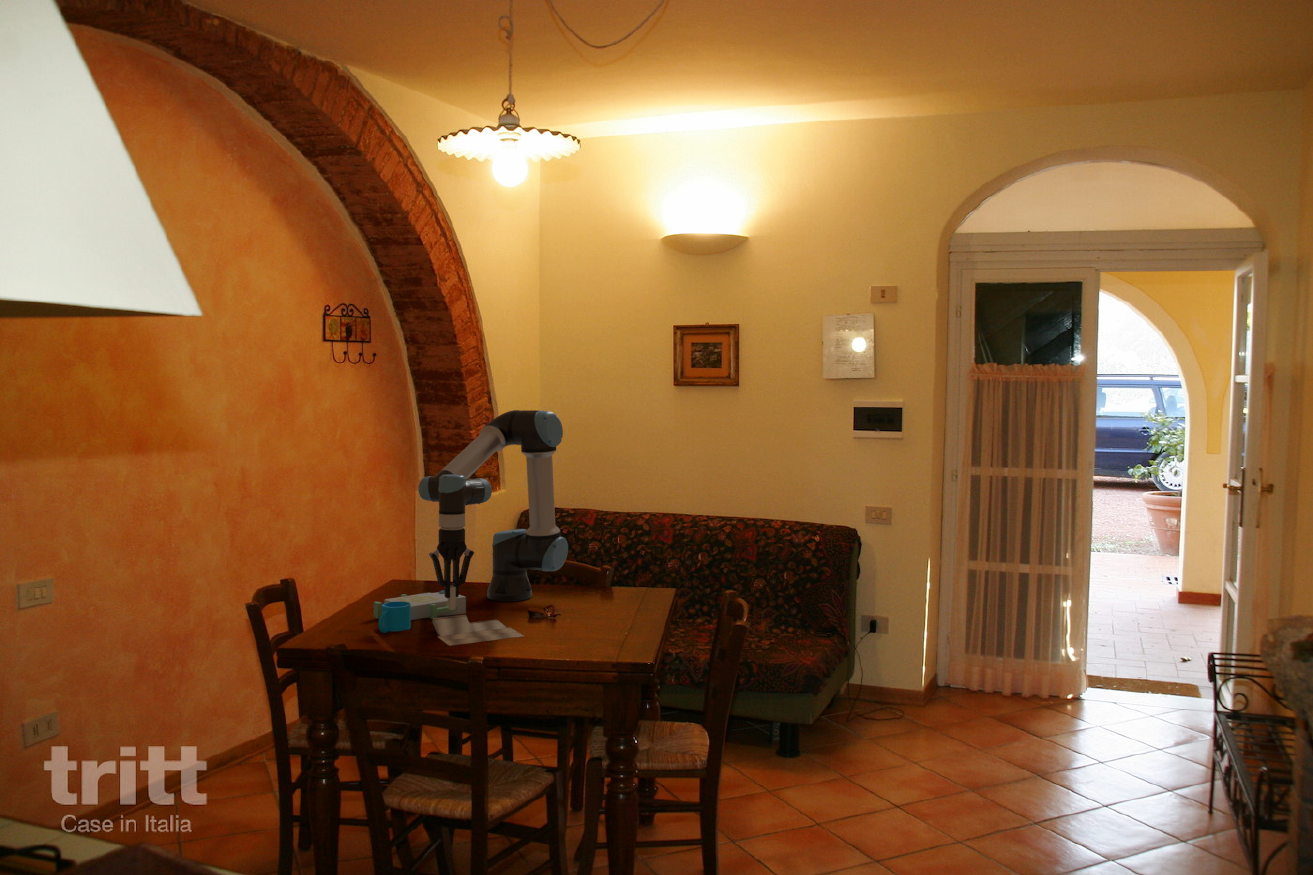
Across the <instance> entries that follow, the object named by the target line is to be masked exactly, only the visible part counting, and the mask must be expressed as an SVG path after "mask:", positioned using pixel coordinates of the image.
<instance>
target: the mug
mask: <svg viewBox="0 0 1313 875" xmlns="http://www.w3.org/2000/svg"><path fill="white" fill-rule="evenodd" d="M411 621H412V620H411V604H410V603H409V602H402V601H396V602H387V603H384V602H383V603H382V615H381V616H380V618H379V619H378V629H379V631H380V632H381V633H383V634H385V633H388V632H402V631H407V630H410V629H411V627H412V626H411V625H412V624H411V623H412V622H411Z"/></svg>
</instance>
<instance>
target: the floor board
mask: <svg viewBox="0 0 1313 875" xmlns="http://www.w3.org/2000/svg"><path fill="white" fill-rule="evenodd" d="M520 637H525V635H524V634H522V633H520V632H519V631H517V630H515V629H514V628H512V627H507V628H501V629H493V630H485V631H477V632H475V631H474V632H469V633H460V634H452V635H444V636H440V635H438V636H437V638H438V639H440V640H441V641H442V642H444V643H445V644H446V645H447V646H458V645H459V646H460V645H466V644H467V645H468V644H473V643H483V642H488V641H489V642H490V641H495V640H496V641H498V640H504V639H505V640H506V639H514V638H520Z"/></svg>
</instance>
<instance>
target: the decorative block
mask: <svg viewBox="0 0 1313 875" xmlns="http://www.w3.org/2000/svg"><path fill="white" fill-rule="evenodd" d="M396 601H402V602H409V603H410V604H411V621H414V620H420V619H427V618H428V619H431V620H433V618H439V617H448V616H457V615H466V613H467V603H466V602H467V597H466V596H464V595H461V594H459V596H458V597H456V609H454V610H450V609H448V598H445V590H440V591H438V592H423V593H417V594H412V595H408V594H405V593H404V594H400V596H398V597H392V598H390V597H389V598H385V599H384V601H383V602H380V601H373V618H375V619H377V620H379V619H380V616H381V615H382V604H384V603H387V602H396Z"/></svg>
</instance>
